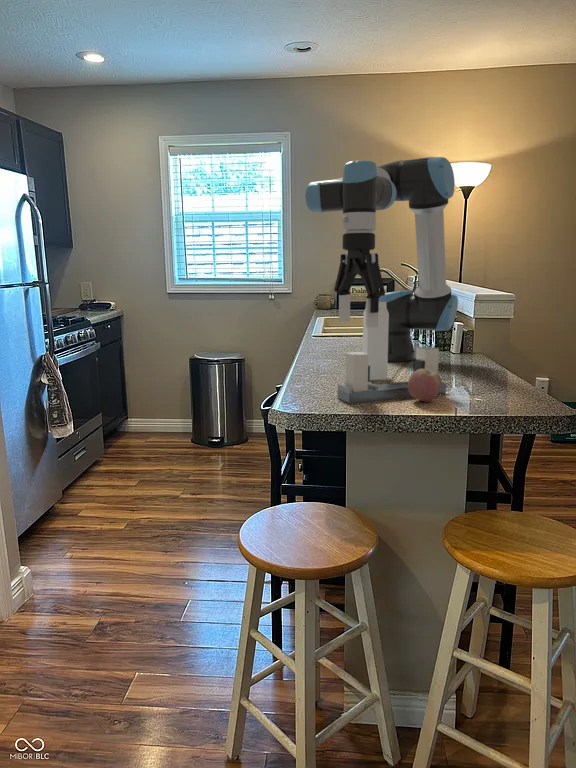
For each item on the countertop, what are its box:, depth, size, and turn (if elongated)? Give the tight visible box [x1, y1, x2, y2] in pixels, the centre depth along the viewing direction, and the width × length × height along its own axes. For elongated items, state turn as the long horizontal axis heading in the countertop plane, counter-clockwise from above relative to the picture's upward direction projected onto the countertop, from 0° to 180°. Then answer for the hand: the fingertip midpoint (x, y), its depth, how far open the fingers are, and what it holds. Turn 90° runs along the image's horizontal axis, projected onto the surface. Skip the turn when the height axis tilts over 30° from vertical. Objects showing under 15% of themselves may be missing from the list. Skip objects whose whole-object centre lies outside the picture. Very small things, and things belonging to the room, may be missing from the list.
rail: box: [337, 346, 447, 405], centre depth 142 cm, size 28×6×12 cm, turn 112°
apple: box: [407, 369, 442, 403], centre depth 136 cm, size 8×8×8 cm
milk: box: [362, 302, 389, 381], centre depth 163 cm, size 6×6×22 cm
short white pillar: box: [344, 351, 371, 392], centre depth 138 cm, size 5×4×9 cm
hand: (357, 324), depth 136 cm, fingers open, 13 cm apart
